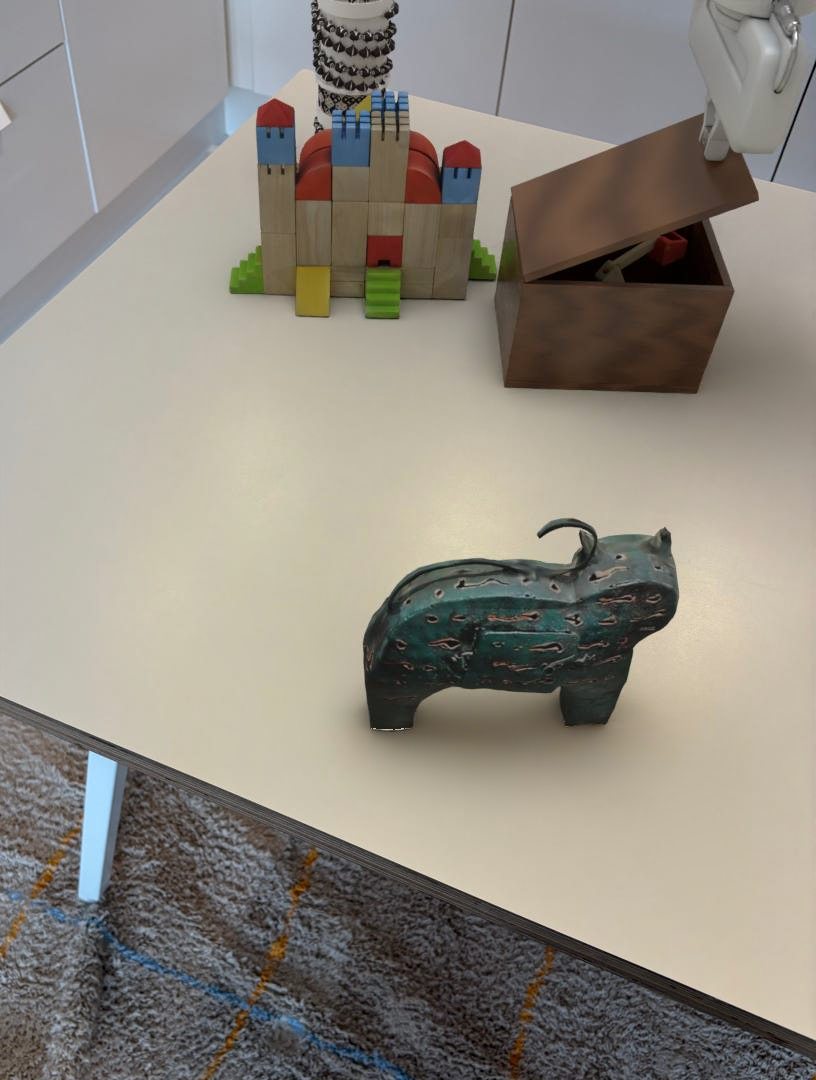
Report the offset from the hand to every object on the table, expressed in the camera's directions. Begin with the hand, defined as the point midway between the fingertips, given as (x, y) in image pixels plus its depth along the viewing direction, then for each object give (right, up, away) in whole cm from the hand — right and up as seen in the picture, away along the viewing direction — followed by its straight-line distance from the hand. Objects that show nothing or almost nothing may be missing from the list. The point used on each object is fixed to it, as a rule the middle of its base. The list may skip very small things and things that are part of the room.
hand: (710, 152), depth 88 cm
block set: (-29, -3, +22) cm, 37 cm away
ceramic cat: (-20, -47, -11) cm, 53 cm away
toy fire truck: (-5, -11, +16) cm, 20 cm away
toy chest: (-6, -12, +16) cm, 21 cm away
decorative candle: (-30, +13, +34) cm, 48 cm away
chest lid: (-6, -2, +3) cm, 8 cm away
